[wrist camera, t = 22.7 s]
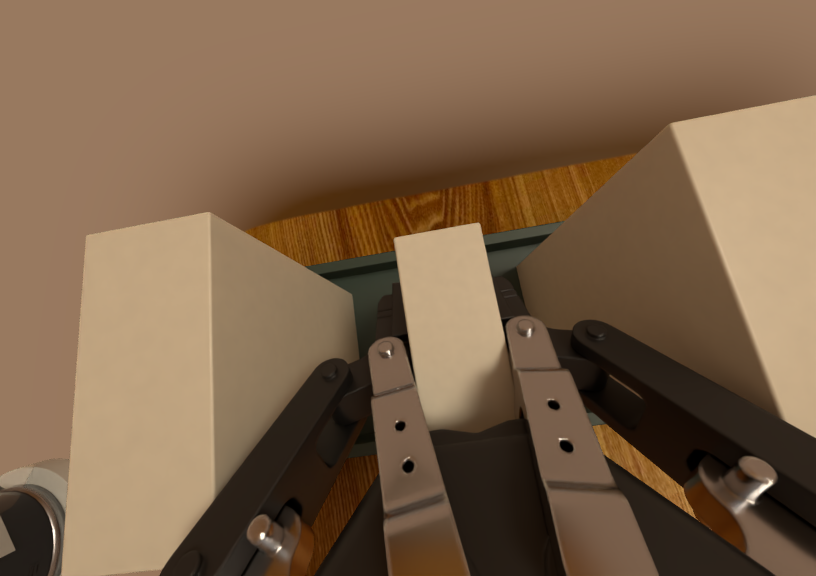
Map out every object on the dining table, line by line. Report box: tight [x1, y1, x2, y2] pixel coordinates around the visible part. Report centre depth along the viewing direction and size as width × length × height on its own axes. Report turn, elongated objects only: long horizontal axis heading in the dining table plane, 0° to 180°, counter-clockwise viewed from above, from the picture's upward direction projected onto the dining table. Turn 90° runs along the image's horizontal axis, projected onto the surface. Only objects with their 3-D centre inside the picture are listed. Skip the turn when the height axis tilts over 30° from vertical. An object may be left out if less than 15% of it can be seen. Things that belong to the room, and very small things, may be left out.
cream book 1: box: [61, 212, 360, 576], centre depth 15 cm, size 4×9×15 cm, turn 9°
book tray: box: [306, 221, 606, 458], centre depth 21 cm, size 26×14×3 cm, turn 99°
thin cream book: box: [394, 223, 515, 433], centre depth 16 cm, size 3×7×13 cm, turn 9°
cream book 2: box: [516, 95, 816, 438], centre depth 14 cm, size 4×9×15 cm, turn 9°
